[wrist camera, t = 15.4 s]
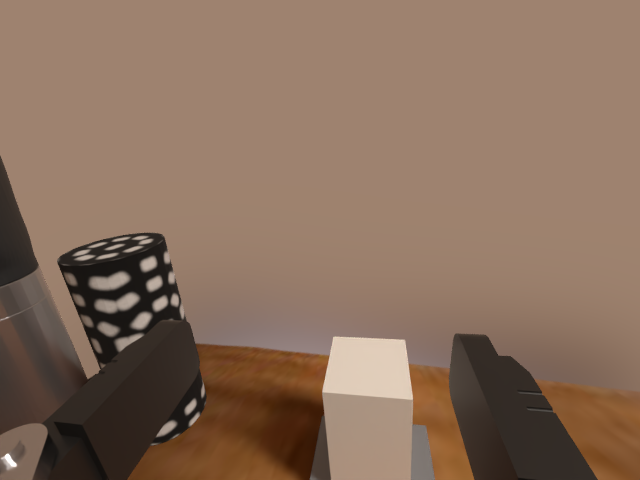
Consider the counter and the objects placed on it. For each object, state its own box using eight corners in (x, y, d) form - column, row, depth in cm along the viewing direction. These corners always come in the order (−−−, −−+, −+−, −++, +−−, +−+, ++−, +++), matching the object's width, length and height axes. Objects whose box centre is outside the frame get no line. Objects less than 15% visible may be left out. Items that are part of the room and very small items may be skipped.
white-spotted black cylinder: (172, 375, 39) (127, 230, 33) (221, 392, 36) (183, 235, 29) (108, 430, 32) (36, 260, 26) (163, 457, 29) (95, 270, 22)
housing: (331, 489, 24) (322, 392, 21) (340, 421, 29) (333, 336, 26) (409, 500, 23) (413, 399, 19) (403, 427, 28) (404, 339, 25)
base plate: (308, 505, 24) (300, 448, 22) (323, 426, 31) (317, 376, 28) (439, 526, 22) (444, 466, 20) (425, 437, 29) (427, 384, 27)
